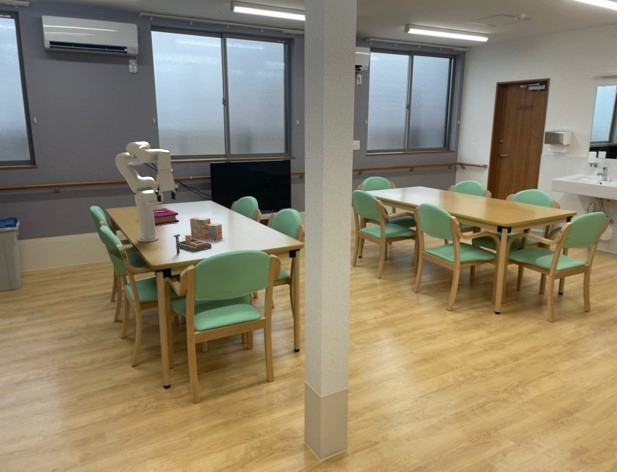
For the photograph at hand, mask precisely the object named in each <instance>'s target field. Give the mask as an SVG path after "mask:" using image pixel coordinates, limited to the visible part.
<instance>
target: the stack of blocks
mask: <svg viewBox="0 0 617 472" xmlns="http://www.w3.org/2000/svg"><path fill="white" fill-rule="evenodd" d="M189 221H190V223H189V226H190V235H191V237H192V236H194V238H201V239H208V240H220V239H222V238H223V229H222V228H223V226H222V223H217V222H216V223H215V222H211V218H209V217H199V216H194V217H191V218H189Z"/></svg>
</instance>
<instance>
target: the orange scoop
mask: <svg viewBox="0 0 617 472" xmlns="http://www.w3.org/2000/svg"><path fill="white" fill-rule="evenodd" d="M184 237H185V238H184V239H185V240H186V245H190V246H192V247H197V246H201V245H205V244H207V242H206V241H204V240H201V239H198V240H199V241H195V242H191V239H192V236H191V234H185V235H184ZM185 240H184V241H185ZM203 241H204V242H203Z"/></svg>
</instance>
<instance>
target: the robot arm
mask: <svg viewBox="0 0 617 472" xmlns="http://www.w3.org/2000/svg"><path fill="white" fill-rule="evenodd" d="M125 150H126V152H121V153H119V154H117V155H116V156H115V160H114V161H115V166H116V168H117V170H118V172H120V174H121V175H122V176H123V178H124V179H125V181H126V182H127V184H128V185H129V188H130V189H131V191H132V192H133V193H135V195H134V202H135V205H136V209H137V215H138V216H137V218H138V226H139V233H138V235H140V236H139V237H138V238H137V240H138V242H141V243H142V242H144V243H147V242H154V241H157V240H159V236H158V235H157V232H156V225H155V220H154V212H153V210H154V209H152V207H151V206H153V205H155V206H156V205H160V204H161V203H163V201H164V194H163V192H170V196H171V197H170V198H171V200H174V201H175V200H176V193H177V191H179V184H178V183H175V178H174V175H173V173H172V172H173V171H174V170H173V168H172V159H171V158H172V157H171V152H170V151H169V150H165V149H162V148H161V149H160V148H155V149H152V148H151V145H150V144H149V143H148V142H146V141H133V142H129V143H128V144H127V145H126V147H125ZM144 163H146V164H149V163H150V164H151V163H156V165H157V174H156V179H154V178H153V177H150V176H144V177H142V176H141V175H140V174H139V173H138V171H137V170H136V169H135V168H133V167H134V166H140V165H143V164H144ZM132 166H133V167H132Z"/></svg>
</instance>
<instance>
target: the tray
mask: <svg viewBox="0 0 617 472" xmlns="http://www.w3.org/2000/svg"><path fill="white" fill-rule="evenodd" d="M199 240H200V239H196V238H191V242H195V241H199ZM202 241H203V242H205V241H204V240H202ZM179 247H181V248H180V249H183V248H184V249H183V250H186V249H187V250H186V251H189V250H190V252H193V251H195V252H198V251H203V250H208V249H210V248H212V243H210V242H207V244H205V245H201V246H197V247H192V246H190V245H186V240H181V241H179Z"/></svg>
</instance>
